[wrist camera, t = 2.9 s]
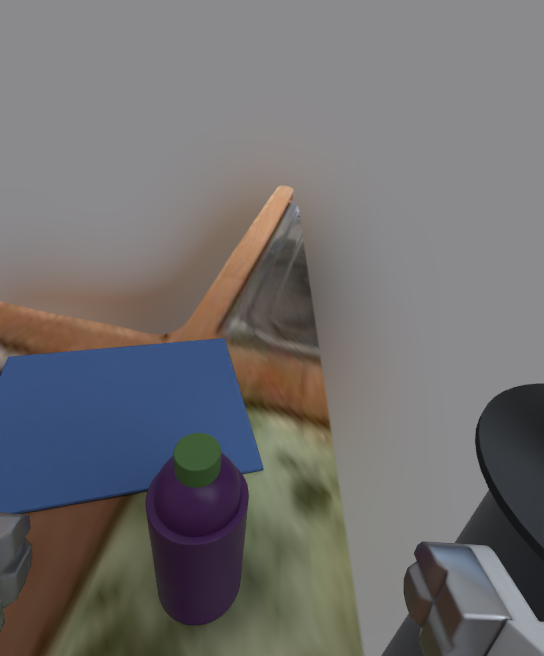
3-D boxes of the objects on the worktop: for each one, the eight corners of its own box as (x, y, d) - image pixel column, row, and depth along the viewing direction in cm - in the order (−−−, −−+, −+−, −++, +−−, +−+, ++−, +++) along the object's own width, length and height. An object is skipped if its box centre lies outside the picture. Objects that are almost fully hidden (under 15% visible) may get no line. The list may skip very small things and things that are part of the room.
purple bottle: (232, 530, 29) (240, 403, 22) (248, 612, 25) (265, 488, 18) (155, 547, 27) (138, 416, 20) (159, 636, 23) (139, 512, 16)
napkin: (224, 340, 47) (224, 338, 47) (263, 470, 33) (263, 467, 33) (8, 359, 41) (8, 356, 41) (-56, 527, 27) (-57, 524, 27)
